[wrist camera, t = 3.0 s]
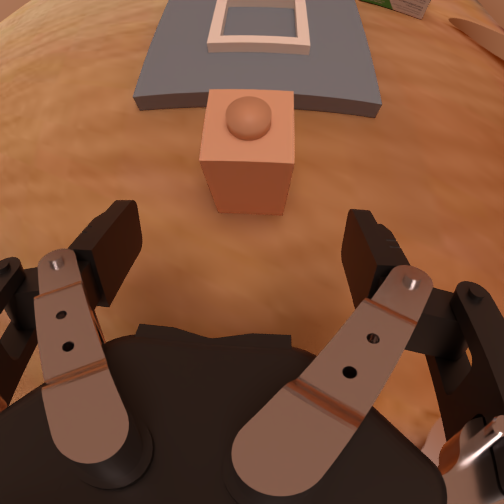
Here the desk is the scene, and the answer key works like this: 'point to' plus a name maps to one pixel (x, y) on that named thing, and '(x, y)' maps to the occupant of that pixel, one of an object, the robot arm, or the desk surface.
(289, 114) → the block
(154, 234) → the desk surface
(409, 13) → the ink box
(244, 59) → the board
